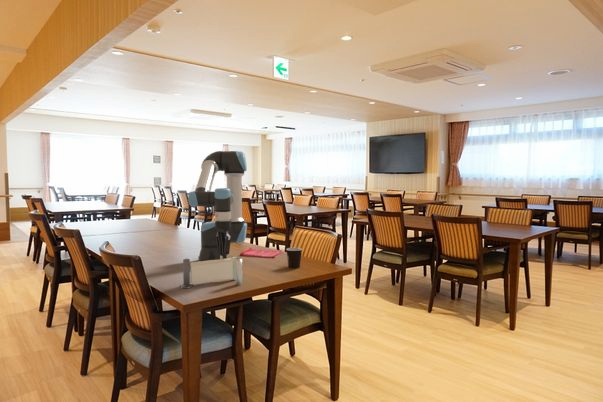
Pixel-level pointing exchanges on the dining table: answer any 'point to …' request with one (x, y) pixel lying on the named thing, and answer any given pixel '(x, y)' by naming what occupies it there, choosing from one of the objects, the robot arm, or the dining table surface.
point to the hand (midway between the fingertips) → (223, 268)
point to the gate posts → (238, 274)
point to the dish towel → (261, 253)
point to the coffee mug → (294, 257)
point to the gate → (209, 270)
